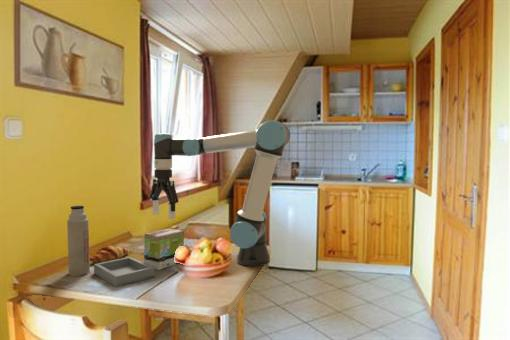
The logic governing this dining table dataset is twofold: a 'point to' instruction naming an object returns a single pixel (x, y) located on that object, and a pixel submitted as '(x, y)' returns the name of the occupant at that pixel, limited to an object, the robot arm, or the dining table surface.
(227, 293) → the dining table surface
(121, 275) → the tray
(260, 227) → the robot arm
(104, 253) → the croissant
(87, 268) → the thermos bottle
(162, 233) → the tea box
